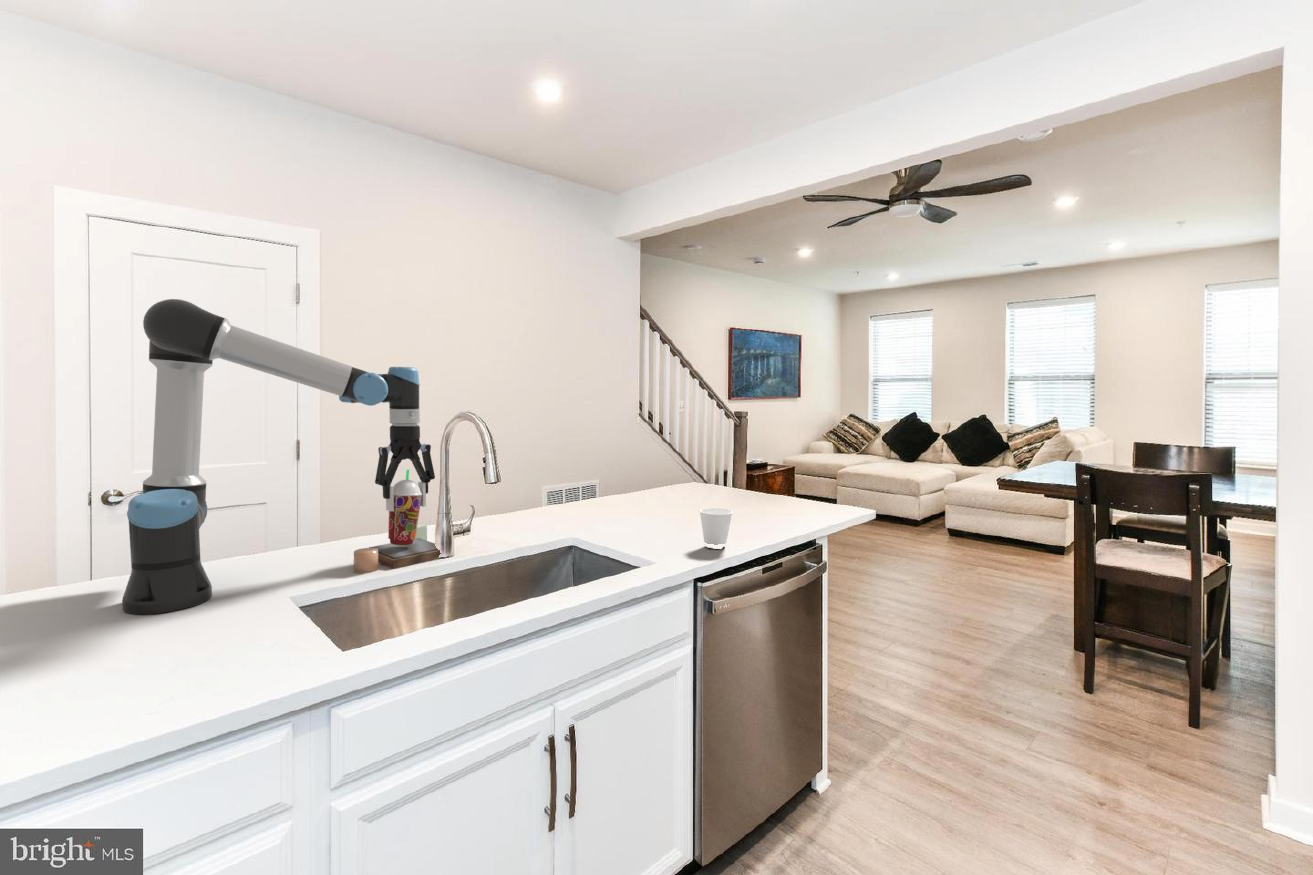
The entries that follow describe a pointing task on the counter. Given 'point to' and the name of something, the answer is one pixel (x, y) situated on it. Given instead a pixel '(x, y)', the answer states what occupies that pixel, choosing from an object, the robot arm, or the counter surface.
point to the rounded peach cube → (366, 560)
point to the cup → (715, 524)
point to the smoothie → (404, 512)
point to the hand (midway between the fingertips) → (406, 508)
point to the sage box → (421, 532)
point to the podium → (407, 553)
